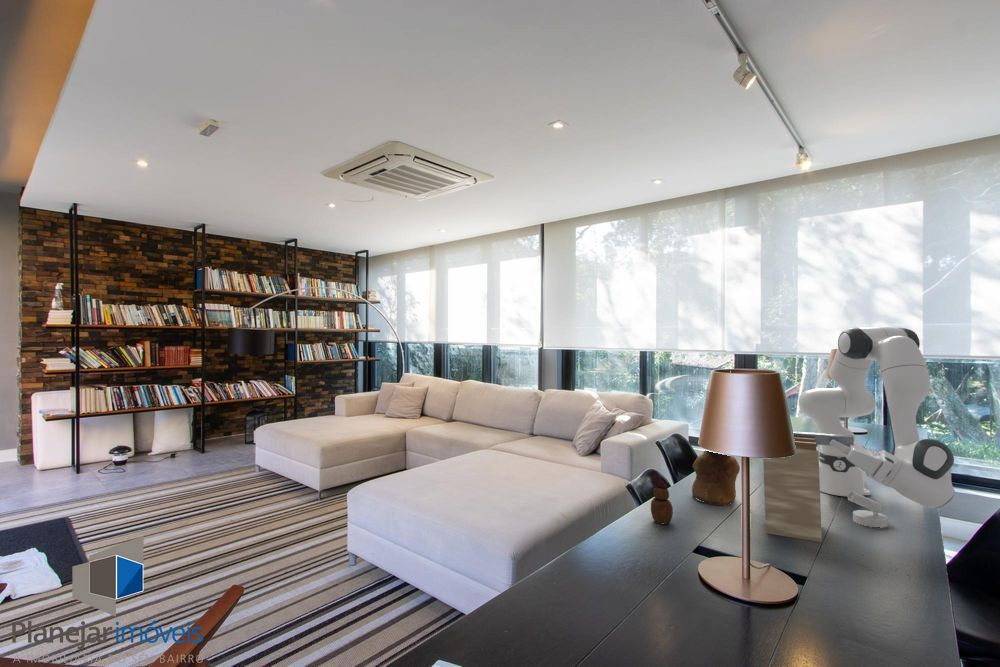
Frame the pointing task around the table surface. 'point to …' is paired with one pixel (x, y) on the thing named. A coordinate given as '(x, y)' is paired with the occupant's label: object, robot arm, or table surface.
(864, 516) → the wall hook
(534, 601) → the table surface
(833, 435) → the bracket
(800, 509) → the stand
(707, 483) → the ceramic vessel
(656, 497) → the wooden figurine
